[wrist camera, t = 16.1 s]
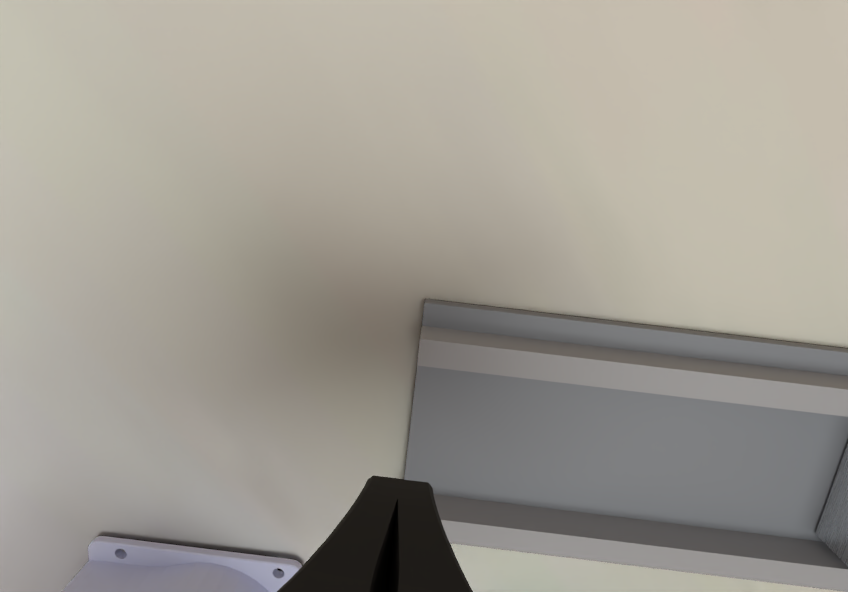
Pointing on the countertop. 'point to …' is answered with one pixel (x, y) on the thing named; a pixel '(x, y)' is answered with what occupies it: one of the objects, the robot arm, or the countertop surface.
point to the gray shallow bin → (630, 442)
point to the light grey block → (837, 514)
